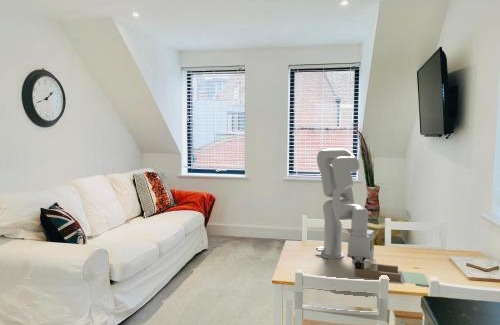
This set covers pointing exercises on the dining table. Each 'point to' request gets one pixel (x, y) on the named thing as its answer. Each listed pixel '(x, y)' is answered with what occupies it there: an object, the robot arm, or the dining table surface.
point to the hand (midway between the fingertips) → (358, 269)
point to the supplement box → (371, 239)
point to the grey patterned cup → (370, 264)
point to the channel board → (392, 274)
